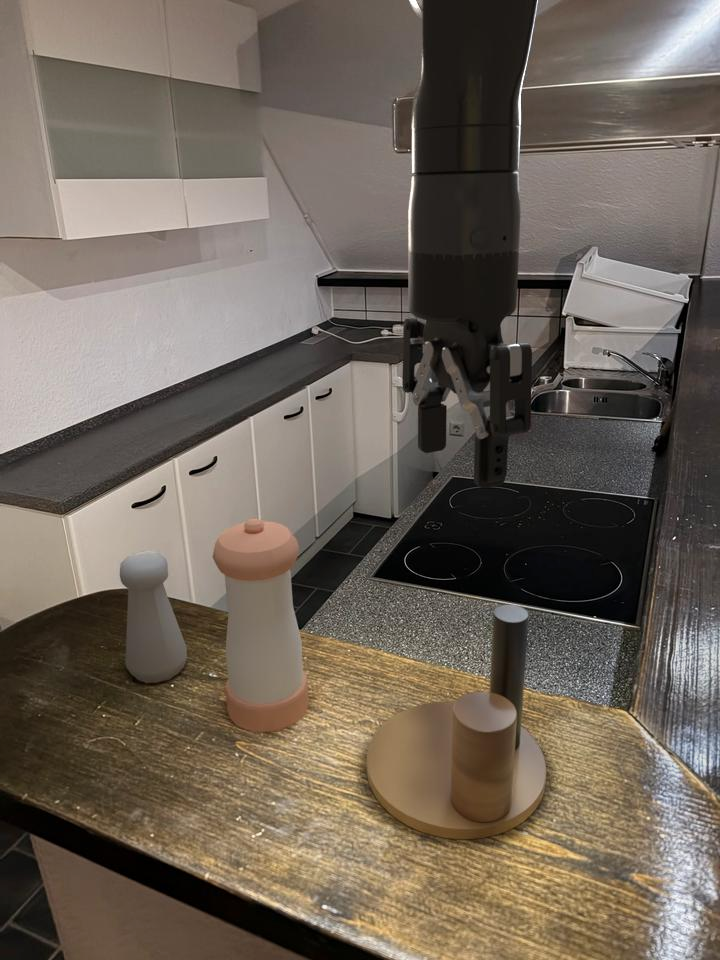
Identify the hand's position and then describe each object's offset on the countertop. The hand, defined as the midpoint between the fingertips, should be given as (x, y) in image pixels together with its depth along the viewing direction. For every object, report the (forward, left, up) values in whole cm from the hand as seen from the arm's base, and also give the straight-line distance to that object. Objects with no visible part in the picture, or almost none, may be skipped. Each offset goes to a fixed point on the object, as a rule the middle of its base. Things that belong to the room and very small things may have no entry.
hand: (458, 466), depth 58 cm
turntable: (+3, +6, -23) cm, 24 cm away
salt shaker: (+22, -18, -24) cm, 38 cm away
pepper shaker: (+14, -8, -24) cm, 29 cm away
